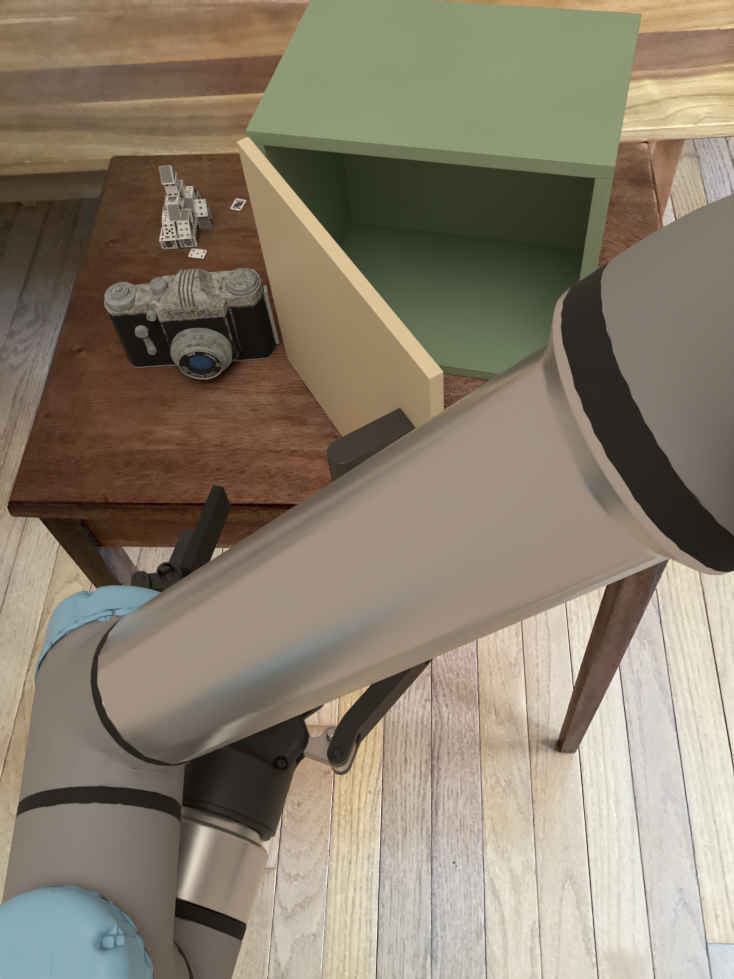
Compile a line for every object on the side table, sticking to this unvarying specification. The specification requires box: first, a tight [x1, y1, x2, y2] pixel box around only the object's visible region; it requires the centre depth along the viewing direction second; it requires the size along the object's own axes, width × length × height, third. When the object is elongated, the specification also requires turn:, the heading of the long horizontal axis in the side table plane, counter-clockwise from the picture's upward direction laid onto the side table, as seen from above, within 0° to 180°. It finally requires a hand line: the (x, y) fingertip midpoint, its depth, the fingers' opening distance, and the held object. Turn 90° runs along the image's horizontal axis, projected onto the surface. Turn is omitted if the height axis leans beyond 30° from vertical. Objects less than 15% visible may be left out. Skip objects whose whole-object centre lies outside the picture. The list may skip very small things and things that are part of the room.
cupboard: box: [245, 0, 642, 381], centre depth 79 cm, size 18×26×24 cm
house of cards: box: [158, 164, 248, 260], centre depth 95 cm, size 9×9×8 cm
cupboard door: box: [236, 136, 445, 483], centre depth 70 cm, size 7×26×24 cm, turn 30°
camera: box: [103, 267, 280, 381], centre depth 84 cm, size 15×7×10 cm, turn 91°
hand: (315, 513), depth 63 cm, fingers open, 13 cm apart
